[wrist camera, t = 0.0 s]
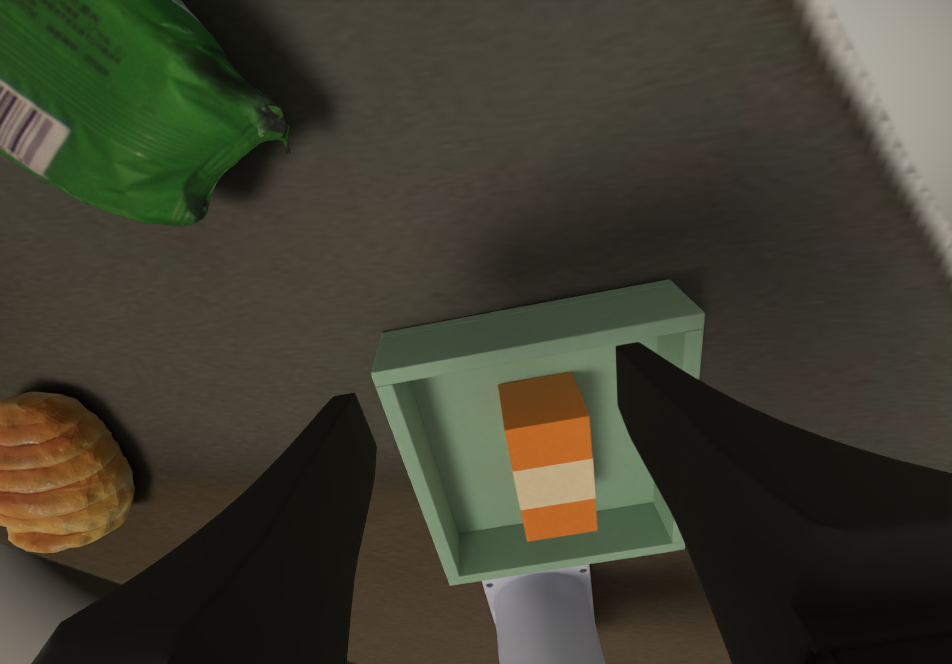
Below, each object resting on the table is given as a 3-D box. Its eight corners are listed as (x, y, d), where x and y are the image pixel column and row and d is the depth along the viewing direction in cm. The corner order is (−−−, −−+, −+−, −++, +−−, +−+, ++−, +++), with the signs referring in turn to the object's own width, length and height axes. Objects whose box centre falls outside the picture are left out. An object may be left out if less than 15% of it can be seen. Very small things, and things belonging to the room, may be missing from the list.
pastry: (-26, 375, 23) (-106, 426, 19) (117, 388, 24) (64, 439, 20) (33, 499, 27) (-23, 558, 24) (152, 506, 28) (113, 563, 25)
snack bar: (581, 479, 28) (598, 531, 25) (518, 490, 28) (526, 542, 25) (572, 370, 24) (590, 416, 21) (497, 384, 24) (503, 431, 21)
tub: (661, 500, 30) (684, 549, 27) (449, 534, 31) (449, 586, 28) (669, 278, 22) (705, 312, 19) (381, 332, 23) (369, 373, 20)
